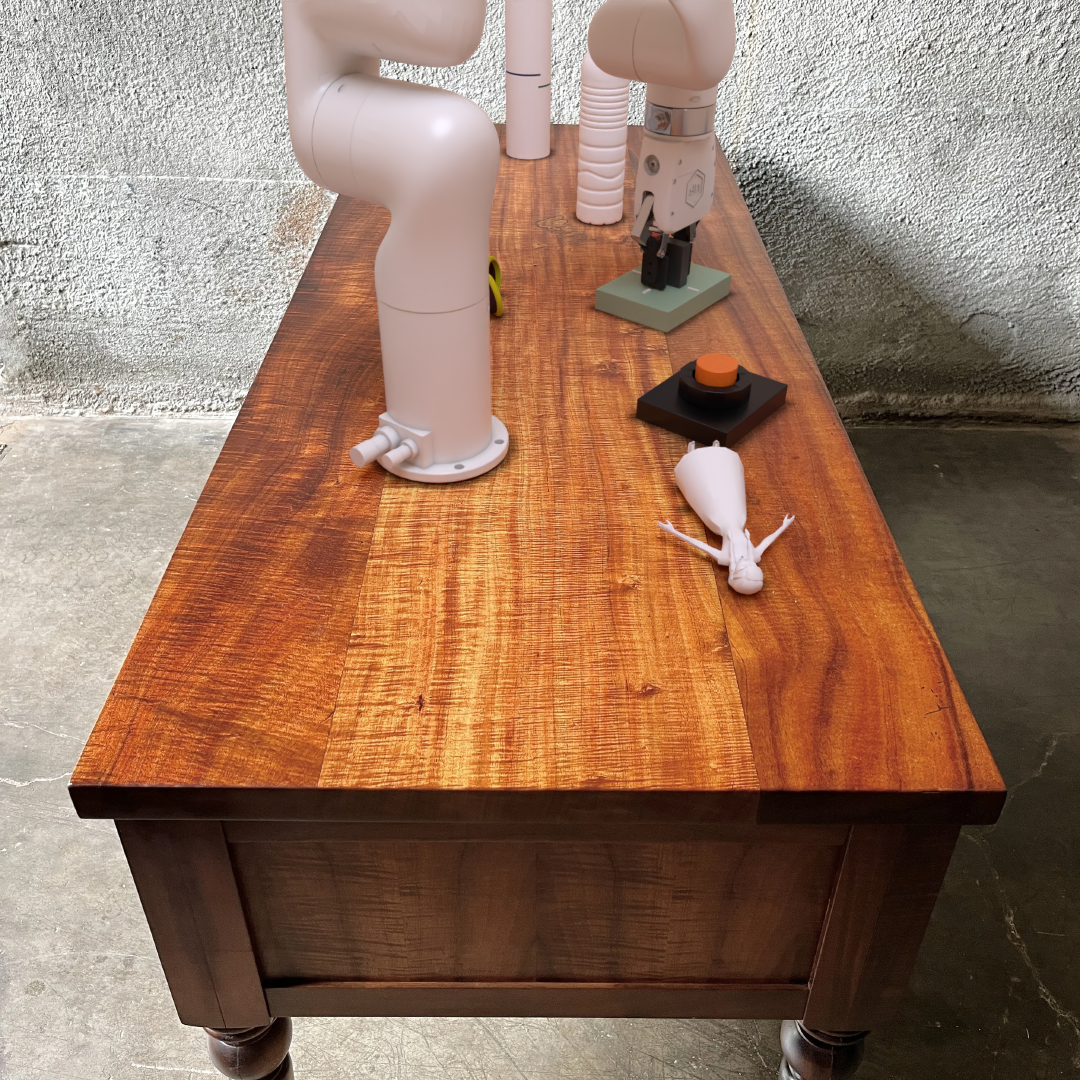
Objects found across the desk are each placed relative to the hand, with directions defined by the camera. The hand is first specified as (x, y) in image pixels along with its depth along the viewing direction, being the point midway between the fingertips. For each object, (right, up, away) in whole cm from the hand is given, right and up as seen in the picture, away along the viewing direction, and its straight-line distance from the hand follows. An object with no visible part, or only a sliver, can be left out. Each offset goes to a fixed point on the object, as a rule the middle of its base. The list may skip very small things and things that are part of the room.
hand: (665, 278), depth 122 cm
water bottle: (-6, +15, +25) cm, 30 cm away
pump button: (+2, -15, -21) cm, 26 cm away
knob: (0, 0, 0) cm, 0 cm away
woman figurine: (+1, -30, -35) cm, 46 cm away
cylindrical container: (-17, +33, +48) cm, 60 cm away
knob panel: (0, -2, +2) cm, 3 cm away
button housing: (+2, -18, -19) cm, 26 cm away
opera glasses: (-22, -3, 0) cm, 22 cm away
